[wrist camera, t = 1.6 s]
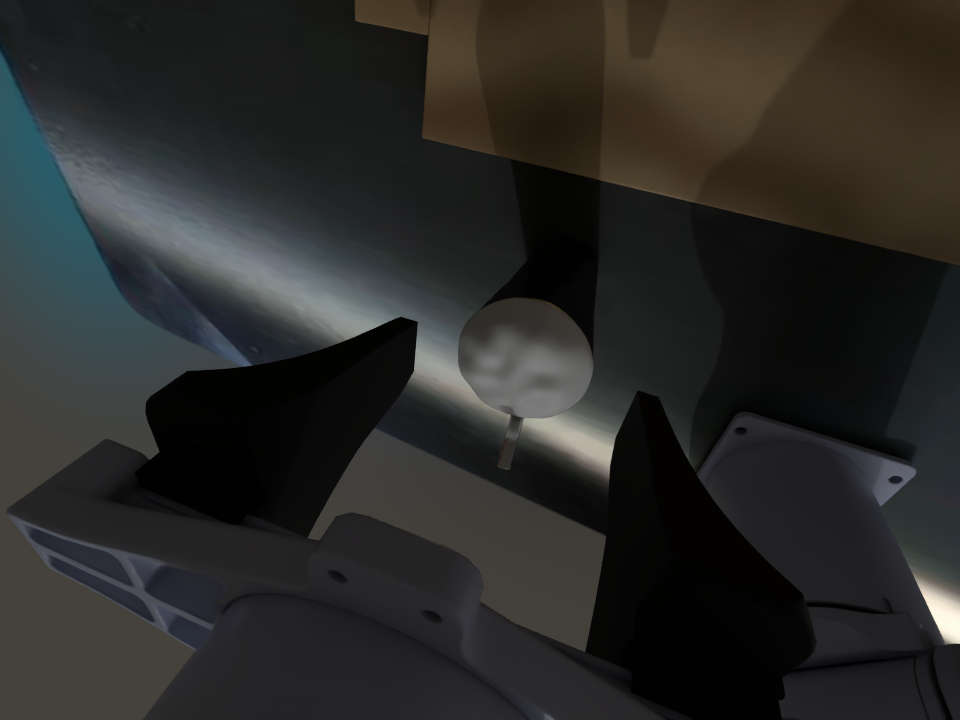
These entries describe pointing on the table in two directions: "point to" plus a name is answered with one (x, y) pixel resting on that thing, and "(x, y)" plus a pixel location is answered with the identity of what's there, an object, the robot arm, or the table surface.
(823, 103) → the board
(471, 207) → the table surface
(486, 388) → the milkshake
